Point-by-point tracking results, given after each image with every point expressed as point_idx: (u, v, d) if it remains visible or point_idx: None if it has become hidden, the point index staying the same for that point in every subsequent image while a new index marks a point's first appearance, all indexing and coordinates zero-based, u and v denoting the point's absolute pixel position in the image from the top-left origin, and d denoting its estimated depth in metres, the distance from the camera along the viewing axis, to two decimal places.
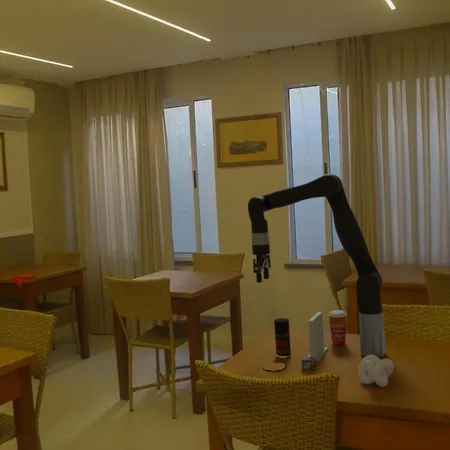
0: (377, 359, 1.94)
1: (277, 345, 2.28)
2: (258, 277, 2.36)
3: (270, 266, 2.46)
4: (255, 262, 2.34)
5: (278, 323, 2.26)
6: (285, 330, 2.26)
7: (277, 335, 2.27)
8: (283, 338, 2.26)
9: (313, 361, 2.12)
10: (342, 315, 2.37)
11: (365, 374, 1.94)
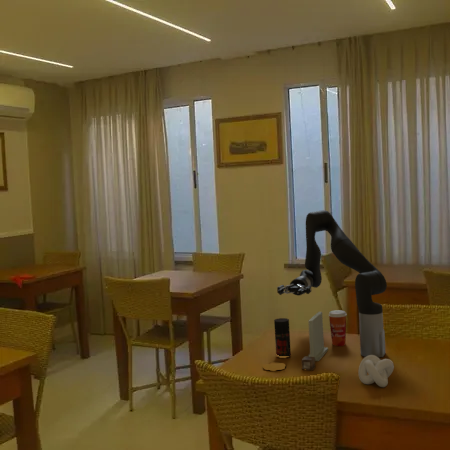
0: (377, 359, 1.94)
1: (277, 345, 2.28)
2: None
3: (307, 287, 2.41)
4: None
5: (278, 323, 2.26)
6: (285, 330, 2.26)
7: (277, 335, 2.27)
8: (283, 338, 2.26)
9: (313, 361, 2.12)
10: (342, 315, 2.37)
11: (365, 374, 1.94)
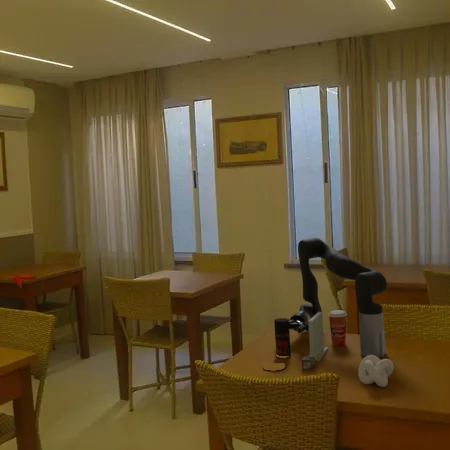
0: (377, 359, 1.94)
1: (277, 345, 2.28)
2: None
3: (307, 324, 2.39)
4: None
5: (278, 323, 2.26)
6: (285, 330, 2.26)
7: (277, 335, 2.27)
8: (283, 338, 2.26)
9: (313, 361, 2.12)
10: (342, 315, 2.37)
11: (365, 374, 1.94)
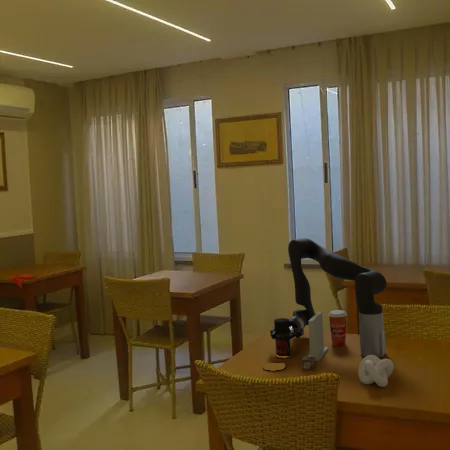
0: (377, 359, 1.94)
1: (277, 345, 2.28)
2: None
3: (297, 331, 2.29)
4: None
5: (278, 323, 2.26)
6: (285, 330, 2.26)
7: (277, 335, 2.27)
8: (283, 338, 2.26)
9: (313, 361, 2.12)
10: (342, 315, 2.37)
11: (365, 374, 1.94)
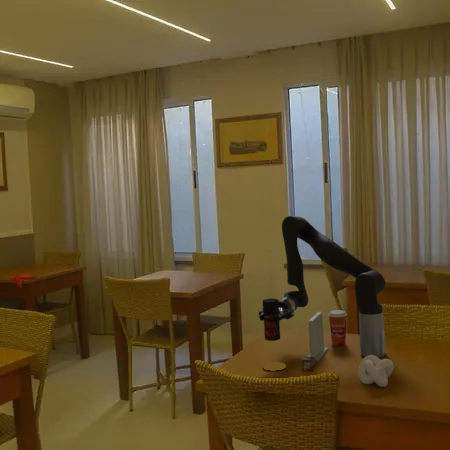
0: (377, 359, 1.94)
1: (265, 327, 2.14)
2: None
3: (287, 312, 2.16)
4: None
5: (266, 303, 2.13)
6: (273, 311, 2.13)
7: (266, 316, 2.14)
8: (272, 319, 2.13)
9: (313, 361, 2.12)
10: (342, 315, 2.37)
11: (365, 374, 1.94)
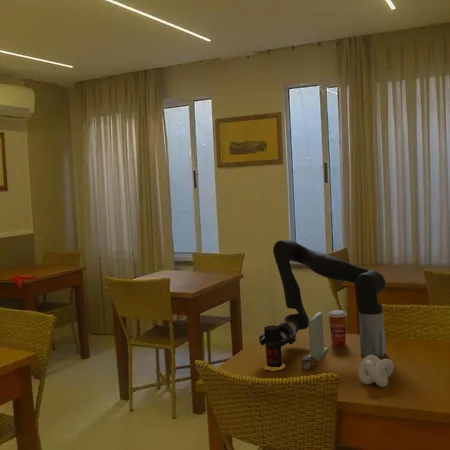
0: (377, 359, 1.94)
1: (267, 354, 2.15)
2: None
3: (290, 337, 2.16)
4: None
5: (268, 331, 2.13)
6: (275, 339, 2.13)
7: (267, 343, 2.14)
8: (274, 347, 2.13)
9: (313, 361, 2.12)
10: (342, 315, 2.37)
11: (365, 374, 1.94)
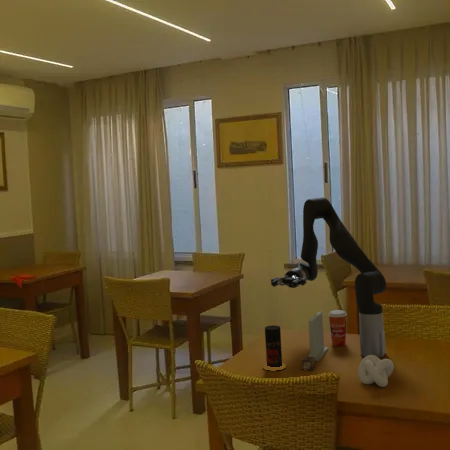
0: (377, 359, 1.94)
1: (268, 354, 2.15)
2: None
3: (302, 278, 2.31)
4: None
5: (269, 331, 2.13)
6: (276, 339, 2.13)
7: (268, 343, 2.14)
8: (274, 347, 2.13)
9: (313, 361, 2.12)
10: (342, 315, 2.37)
11: (365, 374, 1.94)
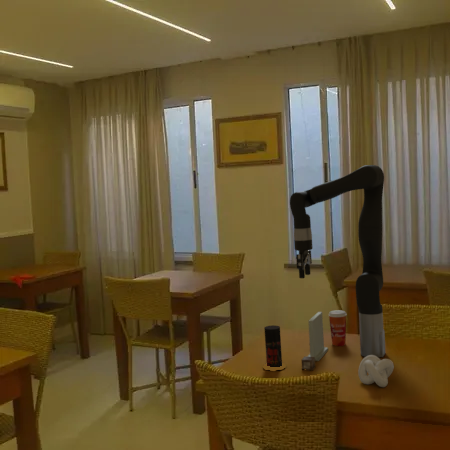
0: (377, 359, 1.94)
1: (267, 354, 2.15)
2: (301, 273, 2.35)
3: (311, 262, 2.45)
4: (298, 258, 2.33)
5: (268, 331, 2.13)
6: (275, 338, 2.13)
7: (268, 343, 2.14)
8: (274, 347, 2.13)
9: (313, 361, 2.12)
10: (342, 315, 2.37)
11: (365, 374, 1.94)
